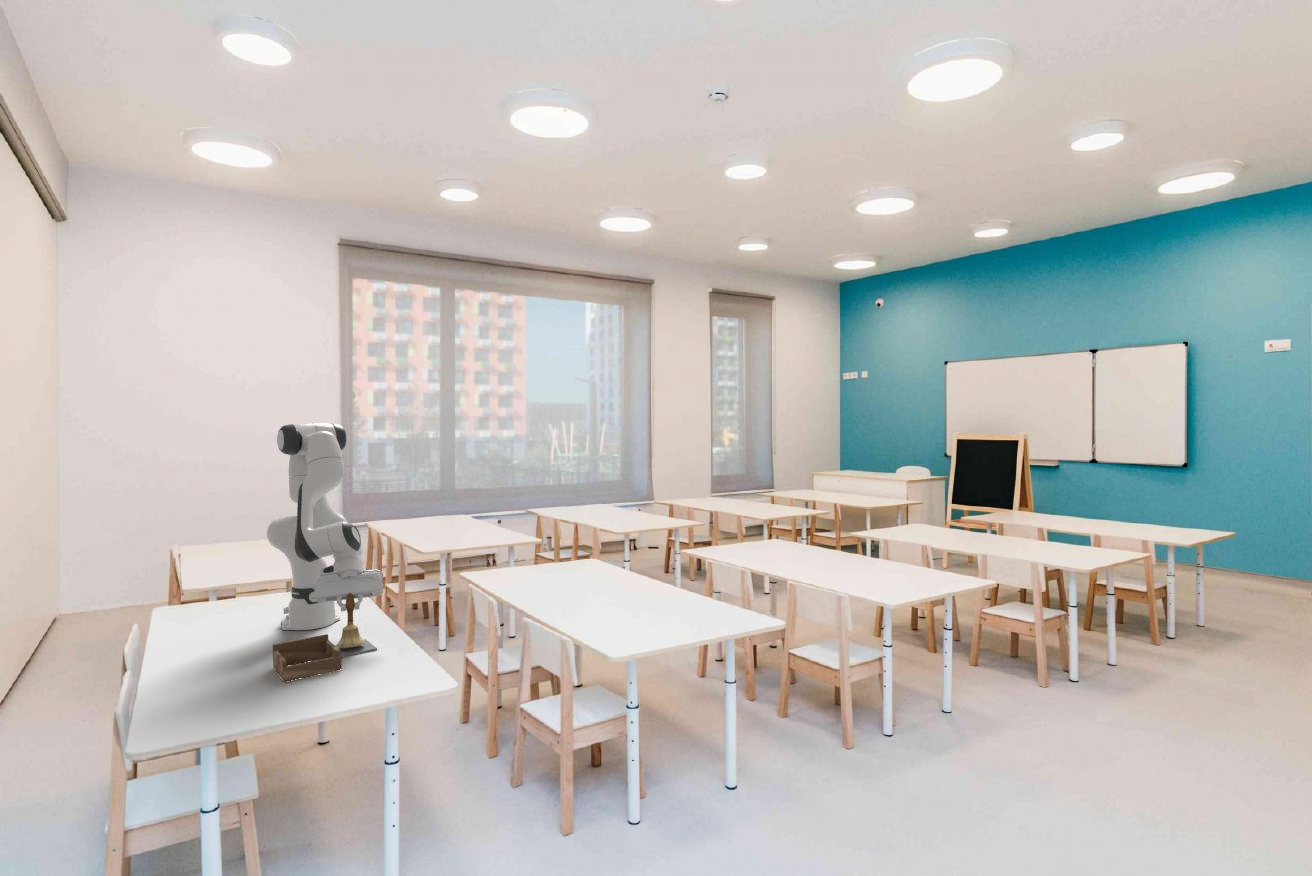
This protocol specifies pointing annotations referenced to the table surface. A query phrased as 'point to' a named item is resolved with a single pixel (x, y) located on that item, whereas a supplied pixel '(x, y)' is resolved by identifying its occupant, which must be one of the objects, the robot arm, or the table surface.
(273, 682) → the table surface
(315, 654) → the open wooden box
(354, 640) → the hand bell
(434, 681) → the table surface
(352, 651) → the slate mat
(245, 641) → the table surface
